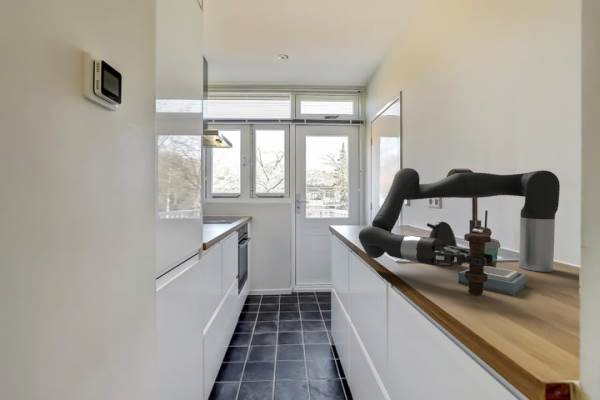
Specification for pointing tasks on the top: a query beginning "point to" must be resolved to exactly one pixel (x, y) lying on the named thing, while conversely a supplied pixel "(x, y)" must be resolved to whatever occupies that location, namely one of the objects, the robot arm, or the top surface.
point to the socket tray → (499, 280)
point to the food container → (492, 251)
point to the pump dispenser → (443, 235)
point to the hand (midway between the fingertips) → (488, 260)
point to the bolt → (476, 272)
